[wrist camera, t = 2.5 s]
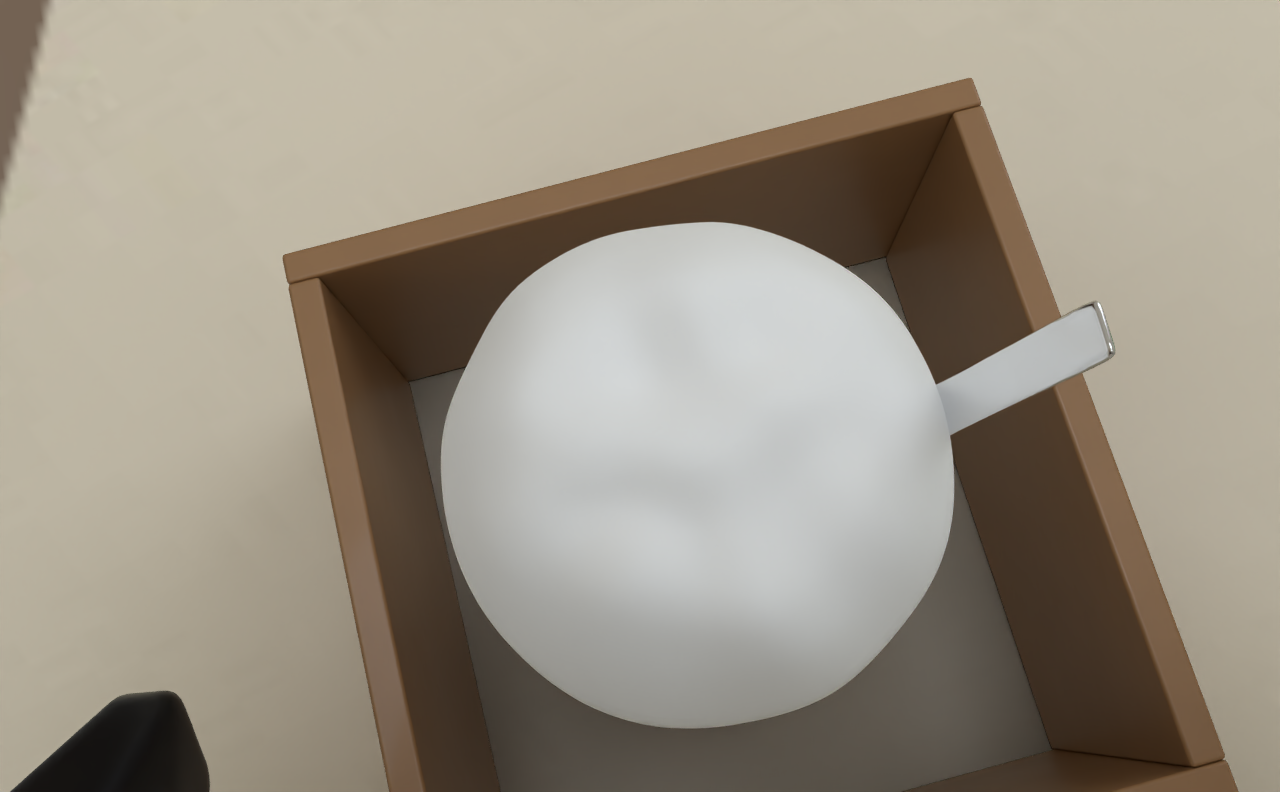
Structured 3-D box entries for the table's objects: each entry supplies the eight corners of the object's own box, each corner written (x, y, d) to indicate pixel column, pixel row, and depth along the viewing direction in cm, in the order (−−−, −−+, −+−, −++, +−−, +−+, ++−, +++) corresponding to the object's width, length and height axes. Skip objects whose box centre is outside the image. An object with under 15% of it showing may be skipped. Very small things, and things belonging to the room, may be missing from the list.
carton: (1088, 776, 17) (1245, 806, 13) (505, 940, 17) (436, 1033, 12) (901, 229, 20) (972, 75, 15) (380, 365, 19) (280, 253, 15)
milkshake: (921, 671, 18) (1207, 639, 8) (570, 742, 18) (438, 792, 8) (850, 384, 19) (1026, 56, 9) (520, 449, 19) (352, 186, 9)
